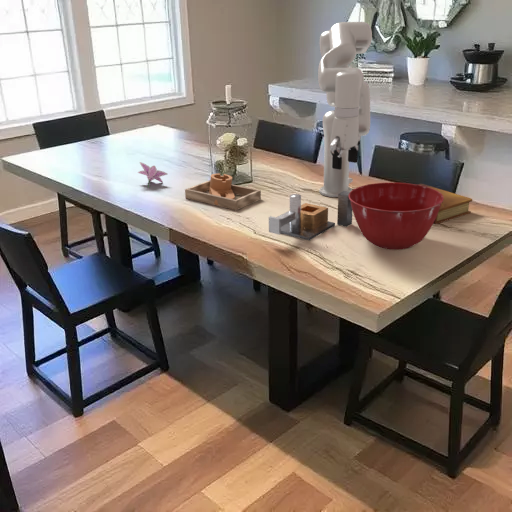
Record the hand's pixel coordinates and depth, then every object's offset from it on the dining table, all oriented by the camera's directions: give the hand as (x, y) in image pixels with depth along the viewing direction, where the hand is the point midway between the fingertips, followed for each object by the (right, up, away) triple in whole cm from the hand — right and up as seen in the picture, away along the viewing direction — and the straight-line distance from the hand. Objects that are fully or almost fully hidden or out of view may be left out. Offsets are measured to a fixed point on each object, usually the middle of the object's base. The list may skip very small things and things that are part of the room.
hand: (344, 165), depth 204 cm
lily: (-71, 0, +55) cm, 90 cm away
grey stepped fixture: (-16, -22, +2) cm, 27 cm away
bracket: (-42, -7, +36) cm, 56 cm away
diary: (+32, -14, +20) cm, 40 cm away
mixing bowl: (+14, -25, -6) cm, 29 cm away
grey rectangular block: (+1, -19, +8) cm, 21 cm away
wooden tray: (-42, -8, +36) cm, 55 cm away
